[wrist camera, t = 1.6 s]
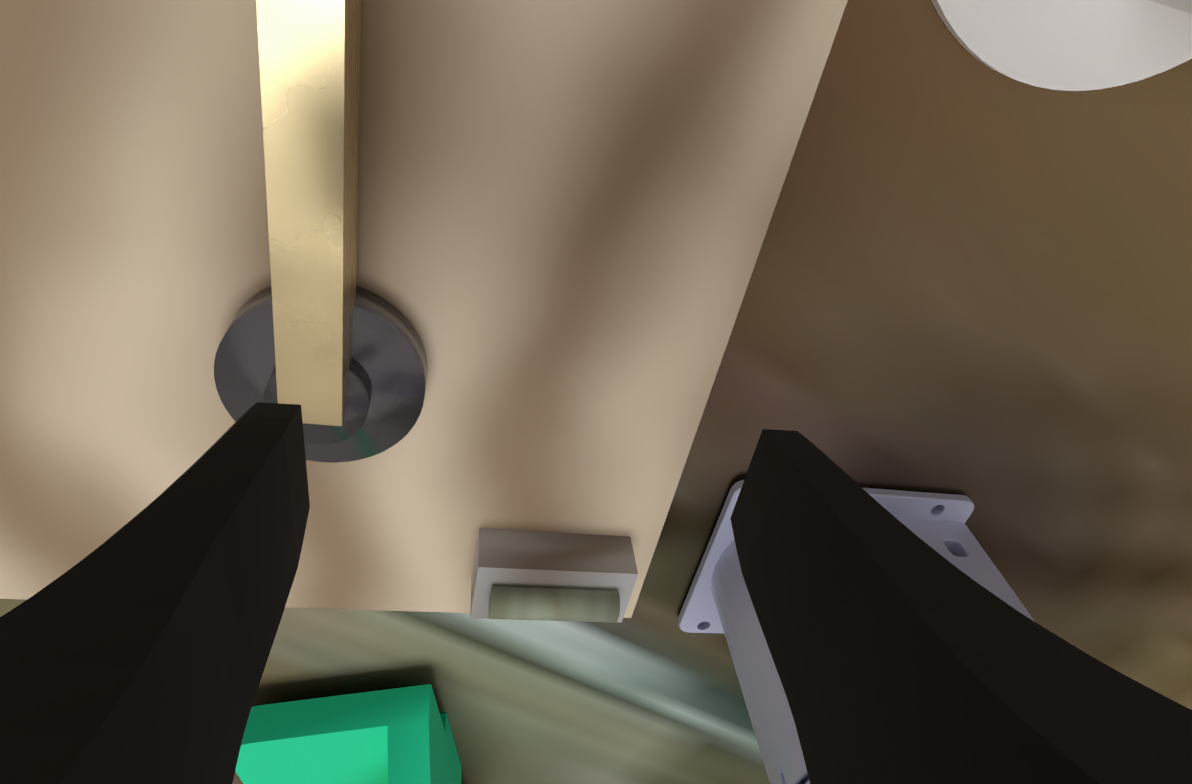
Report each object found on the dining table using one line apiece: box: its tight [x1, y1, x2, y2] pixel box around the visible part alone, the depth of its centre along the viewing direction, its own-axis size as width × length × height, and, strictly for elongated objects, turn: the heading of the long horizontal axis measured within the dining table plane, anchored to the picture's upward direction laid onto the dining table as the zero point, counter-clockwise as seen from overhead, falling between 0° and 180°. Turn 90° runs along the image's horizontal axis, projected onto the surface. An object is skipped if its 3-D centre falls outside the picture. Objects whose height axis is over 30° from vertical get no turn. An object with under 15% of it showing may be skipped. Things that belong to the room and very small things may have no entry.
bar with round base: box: [214, 0, 427, 463], centre depth 16 cm, size 5×12×2 cm, turn 168°
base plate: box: [0, 0, 848, 622], centre depth 18 cm, size 21×22×4 cm
